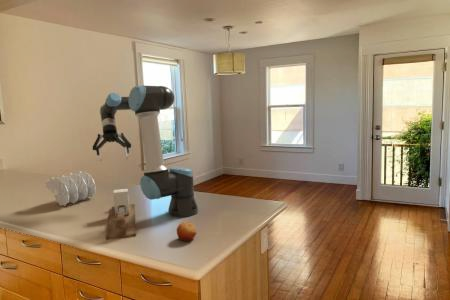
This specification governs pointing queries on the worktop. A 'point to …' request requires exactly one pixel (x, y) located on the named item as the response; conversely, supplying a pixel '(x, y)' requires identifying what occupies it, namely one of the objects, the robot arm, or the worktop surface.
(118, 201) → the sleeve
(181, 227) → the fruit
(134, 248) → the worktop surface
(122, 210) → the steel rod
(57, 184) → the spiral staircase
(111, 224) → the walnut board
